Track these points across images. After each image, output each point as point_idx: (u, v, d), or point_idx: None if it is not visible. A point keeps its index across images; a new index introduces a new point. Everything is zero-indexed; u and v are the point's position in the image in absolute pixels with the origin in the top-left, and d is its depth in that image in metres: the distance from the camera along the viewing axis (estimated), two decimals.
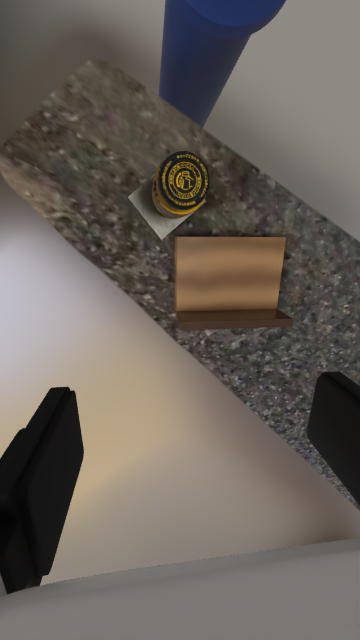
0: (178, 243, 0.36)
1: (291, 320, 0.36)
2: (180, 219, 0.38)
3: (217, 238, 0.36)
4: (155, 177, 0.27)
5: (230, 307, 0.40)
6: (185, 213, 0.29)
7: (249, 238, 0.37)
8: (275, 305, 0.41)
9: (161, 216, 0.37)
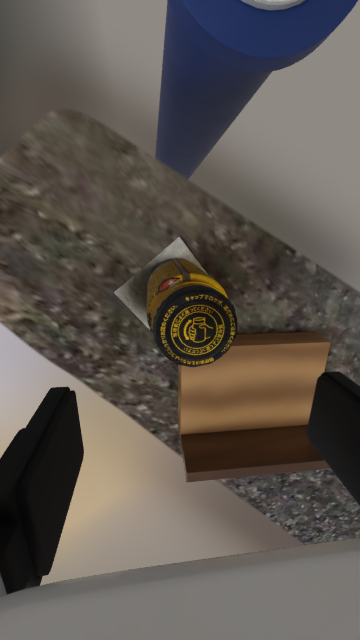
0: None
1: None
2: None
3: (237, 347, 0.26)
4: (150, 308, 0.17)
5: (252, 425, 0.30)
6: None
7: (281, 345, 0.27)
8: None
9: None
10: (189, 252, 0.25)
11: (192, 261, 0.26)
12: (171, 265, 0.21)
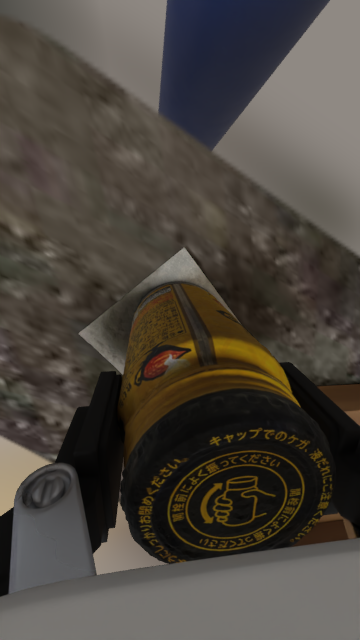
0: None
1: None
2: None
3: None
4: (122, 412, 0.08)
5: None
6: None
7: (350, 413, 0.17)
8: None
9: None
10: (200, 271, 0.16)
11: (204, 286, 0.16)
12: (171, 300, 0.12)
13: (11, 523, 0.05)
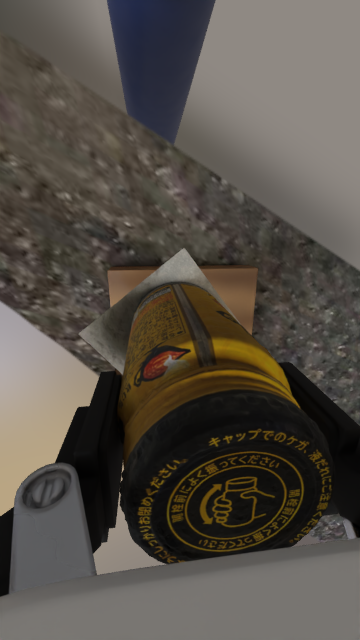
0: (110, 279, 0.26)
1: None
2: None
3: None
4: (121, 413, 0.08)
5: None
6: None
7: (208, 270, 0.27)
8: None
9: None
10: (199, 272, 0.16)
11: (204, 286, 0.16)
12: (170, 301, 0.12)
13: (11, 523, 0.05)
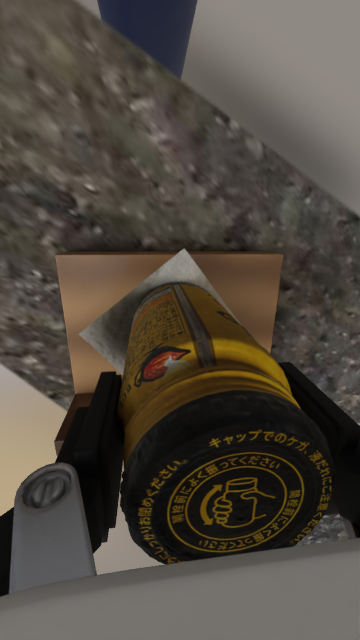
0: (60, 268, 0.17)
1: None
2: None
3: (142, 257, 0.18)
4: (122, 413, 0.08)
5: None
6: None
7: (209, 257, 0.18)
8: None
9: None
10: (199, 272, 0.16)
11: (204, 286, 0.16)
12: (171, 301, 0.12)
13: (11, 523, 0.05)
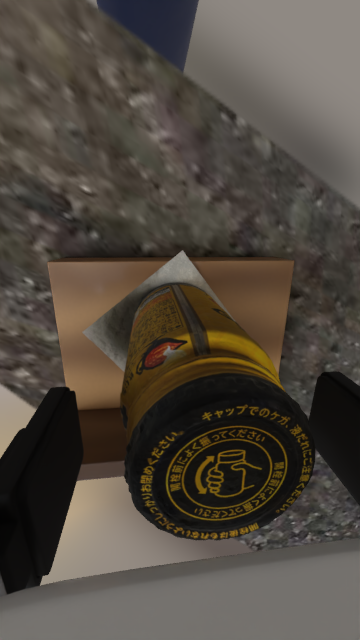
0: (53, 276, 0.16)
1: None
2: None
3: (142, 264, 0.16)
4: (125, 399, 0.09)
5: None
6: None
7: (214, 263, 0.17)
8: None
9: None
10: (197, 273, 0.17)
11: (201, 287, 0.17)
12: (169, 299, 0.13)
13: None
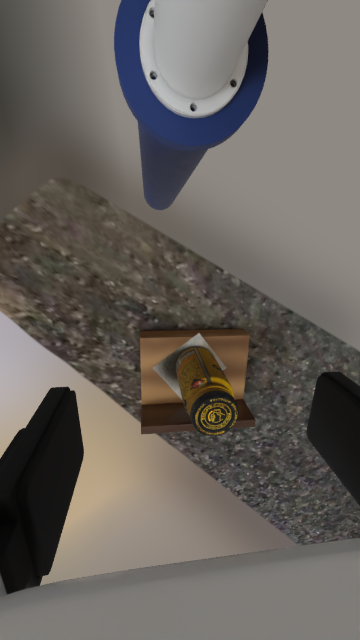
0: (141, 344, 0.36)
1: (253, 421, 0.36)
2: None
3: (181, 338, 0.37)
4: (186, 397, 0.29)
5: None
6: None
7: (213, 337, 0.37)
8: (241, 396, 0.41)
9: None
10: (205, 342, 0.37)
11: (207, 347, 0.37)
12: (195, 359, 0.33)
13: None
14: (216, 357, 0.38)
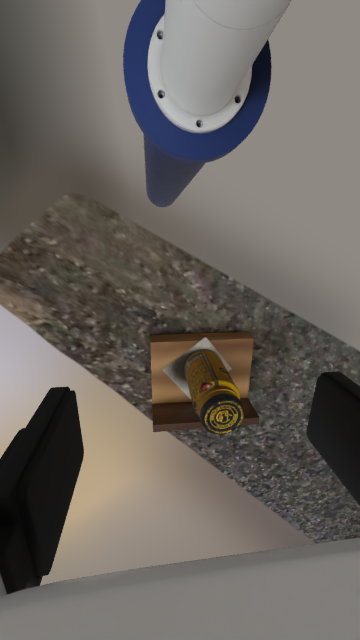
0: (152, 348, 0.38)
1: (258, 419, 0.39)
2: None
3: (189, 342, 0.39)
4: (195, 399, 0.31)
5: None
6: None
7: (219, 340, 0.39)
8: (246, 394, 0.43)
9: None
10: (211, 345, 0.39)
11: (213, 350, 0.40)
12: (203, 362, 0.35)
13: None
14: (222, 359, 0.40)
